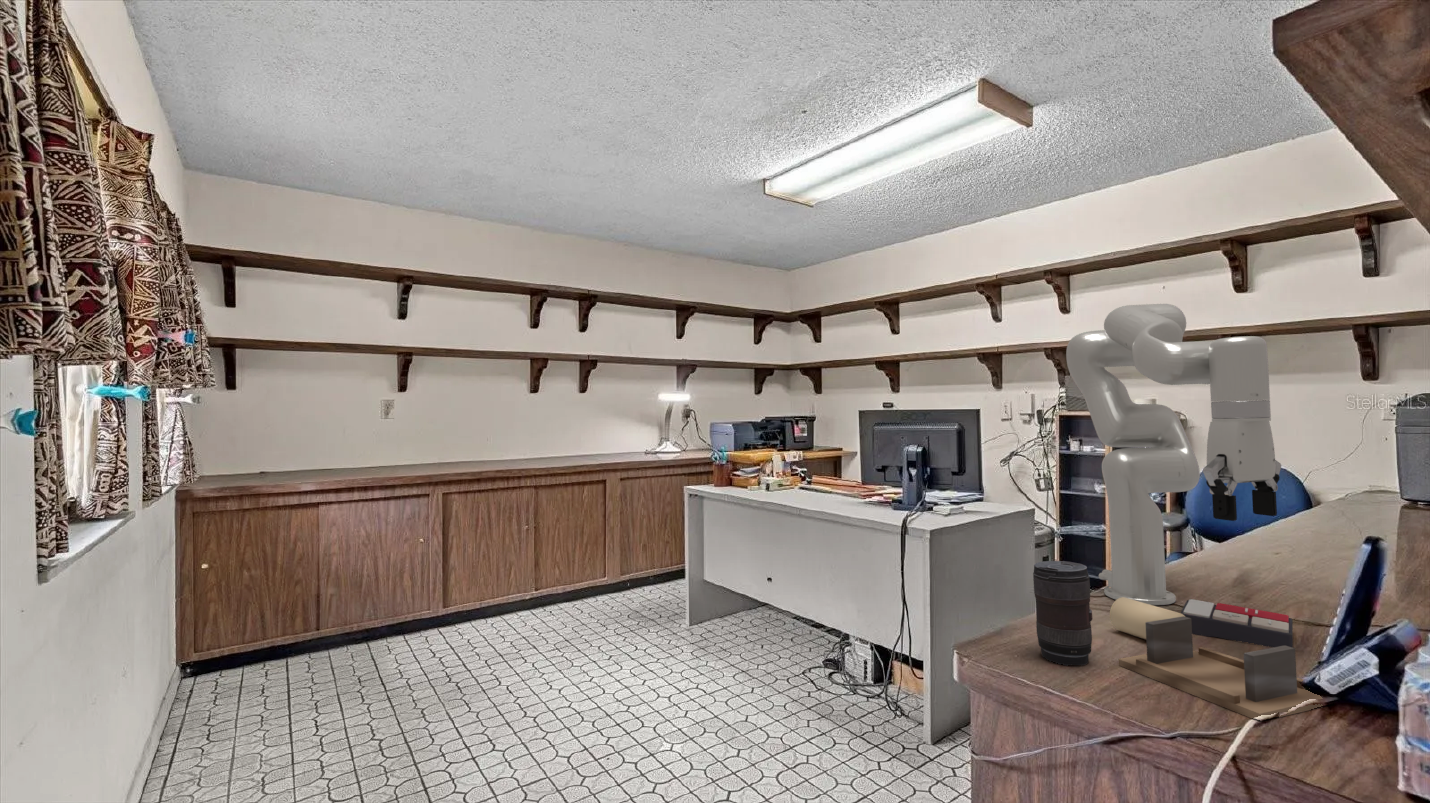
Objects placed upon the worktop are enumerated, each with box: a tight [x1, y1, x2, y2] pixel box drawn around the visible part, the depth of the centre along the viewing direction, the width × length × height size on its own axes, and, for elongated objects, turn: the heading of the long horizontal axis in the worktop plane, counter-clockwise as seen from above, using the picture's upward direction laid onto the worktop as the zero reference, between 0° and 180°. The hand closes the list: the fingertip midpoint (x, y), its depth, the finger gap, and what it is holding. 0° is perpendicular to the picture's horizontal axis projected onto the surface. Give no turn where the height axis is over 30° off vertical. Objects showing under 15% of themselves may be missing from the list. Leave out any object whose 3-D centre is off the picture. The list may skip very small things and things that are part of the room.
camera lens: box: [1032, 560, 1093, 666], centre depth 104 cm, size 8×8×15 cm
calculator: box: [1180, 598, 1294, 648], centre depth 114 cm, size 11×4×15 cm
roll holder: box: [1118, 616, 1323, 719], centre depth 93 cm, size 20×14×7 cm
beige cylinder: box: [1109, 597, 1185, 641], centre depth 111 cm, size 10×6×6 cm, turn 17°
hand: (1245, 517), depth 105 cm, fingers open, 9 cm apart
